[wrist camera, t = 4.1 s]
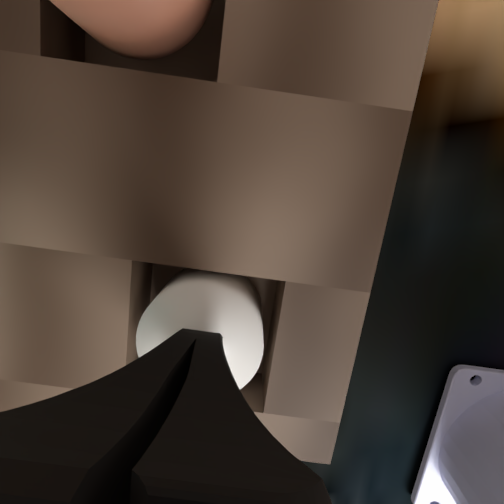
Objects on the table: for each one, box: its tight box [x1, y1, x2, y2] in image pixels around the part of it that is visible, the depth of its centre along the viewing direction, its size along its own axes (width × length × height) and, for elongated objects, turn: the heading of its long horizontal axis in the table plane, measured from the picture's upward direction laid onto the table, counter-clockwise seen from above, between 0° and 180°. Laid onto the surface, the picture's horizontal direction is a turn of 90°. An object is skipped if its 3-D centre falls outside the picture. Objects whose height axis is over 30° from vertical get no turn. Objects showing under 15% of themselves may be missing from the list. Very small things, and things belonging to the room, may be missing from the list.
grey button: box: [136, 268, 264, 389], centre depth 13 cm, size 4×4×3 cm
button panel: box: [0, 0, 439, 464], centre depth 12 cm, size 13×21×3 cm, turn 172°
